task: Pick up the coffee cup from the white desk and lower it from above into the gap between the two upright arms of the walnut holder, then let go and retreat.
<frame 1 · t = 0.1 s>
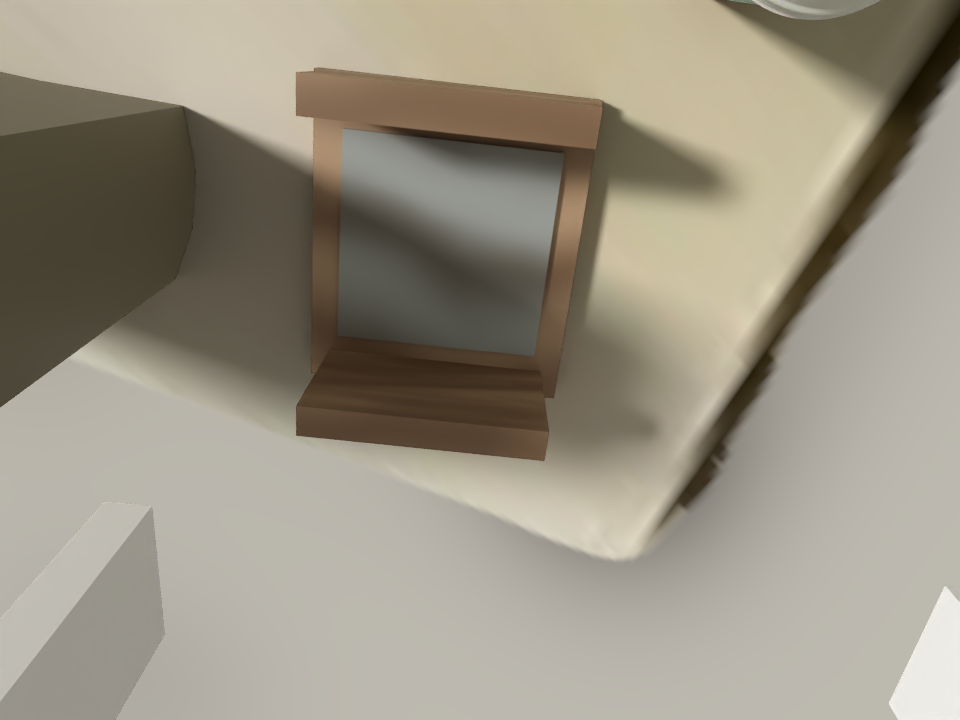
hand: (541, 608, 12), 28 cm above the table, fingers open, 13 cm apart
holder: (446, 242, 38), on the table
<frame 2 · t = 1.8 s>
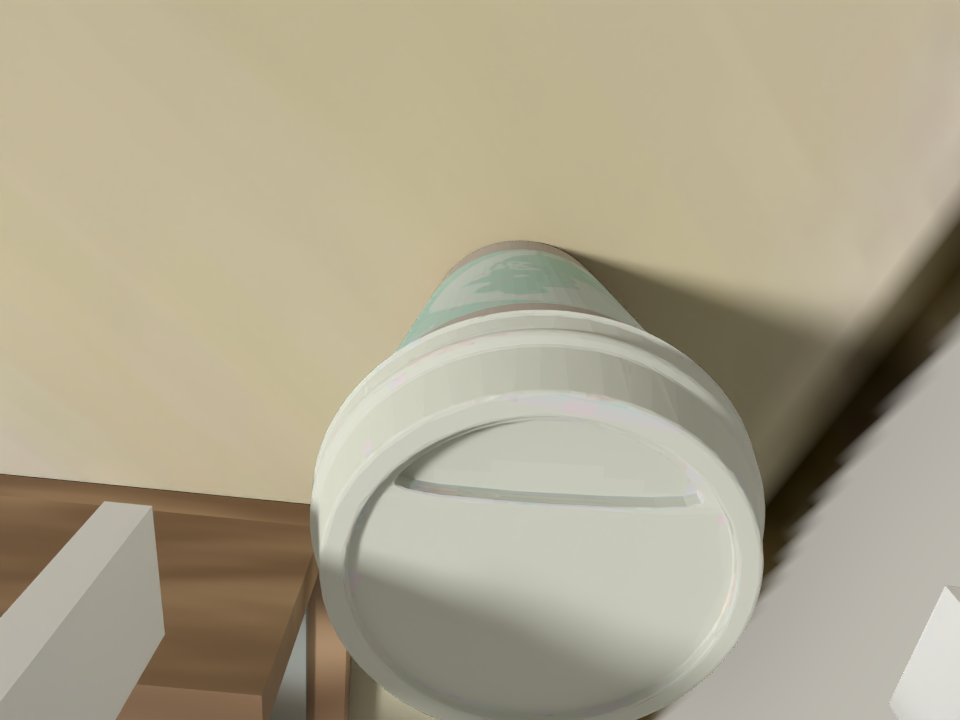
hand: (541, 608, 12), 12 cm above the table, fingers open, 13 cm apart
holder: (182, 651, 29), on the table
coffee cup: (517, 324, 23), on the table
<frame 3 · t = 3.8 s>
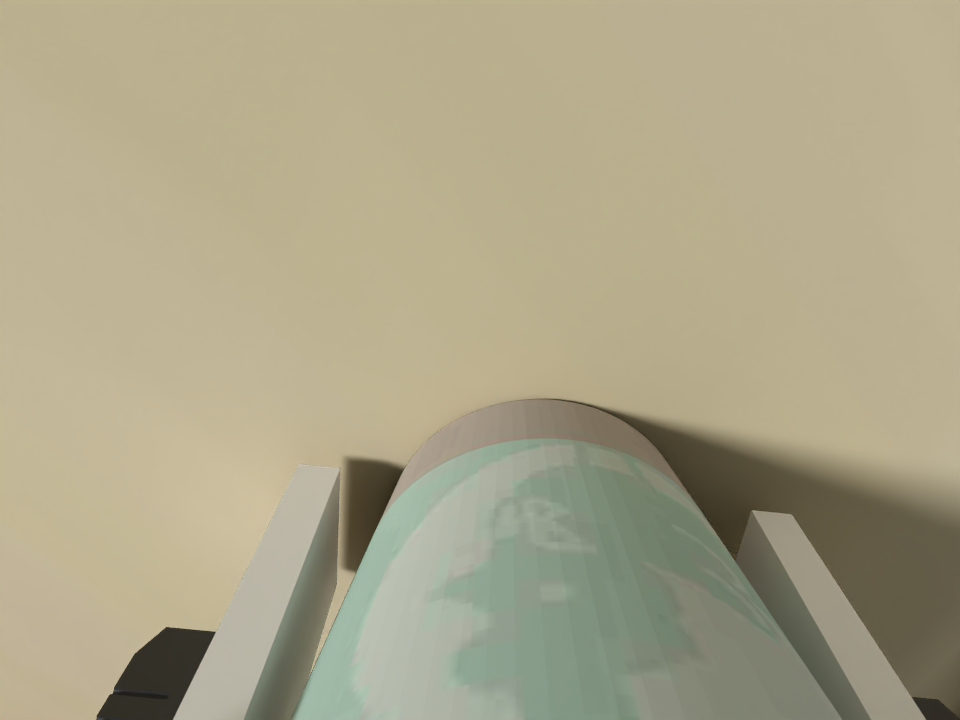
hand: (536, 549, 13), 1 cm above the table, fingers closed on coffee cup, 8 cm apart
coffee cup: (534, 520, 14), on the table, touching gripper
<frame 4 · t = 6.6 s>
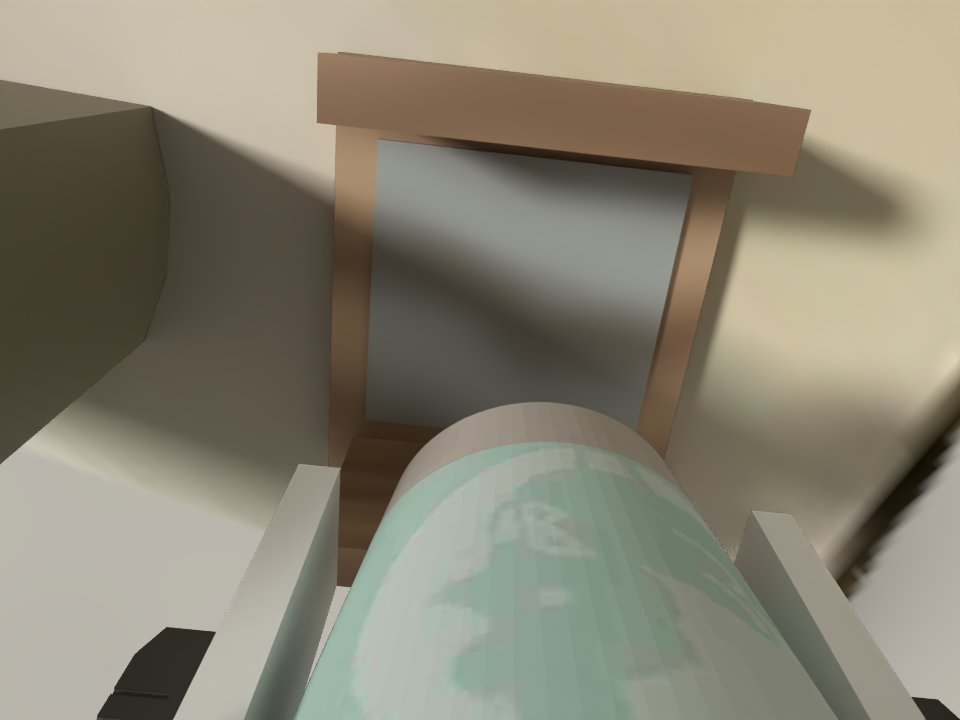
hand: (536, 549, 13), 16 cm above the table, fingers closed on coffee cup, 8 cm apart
holder: (515, 295, 27), on the table
coffee cup: (534, 523, 14), point 15 cm above the table, touching gripper
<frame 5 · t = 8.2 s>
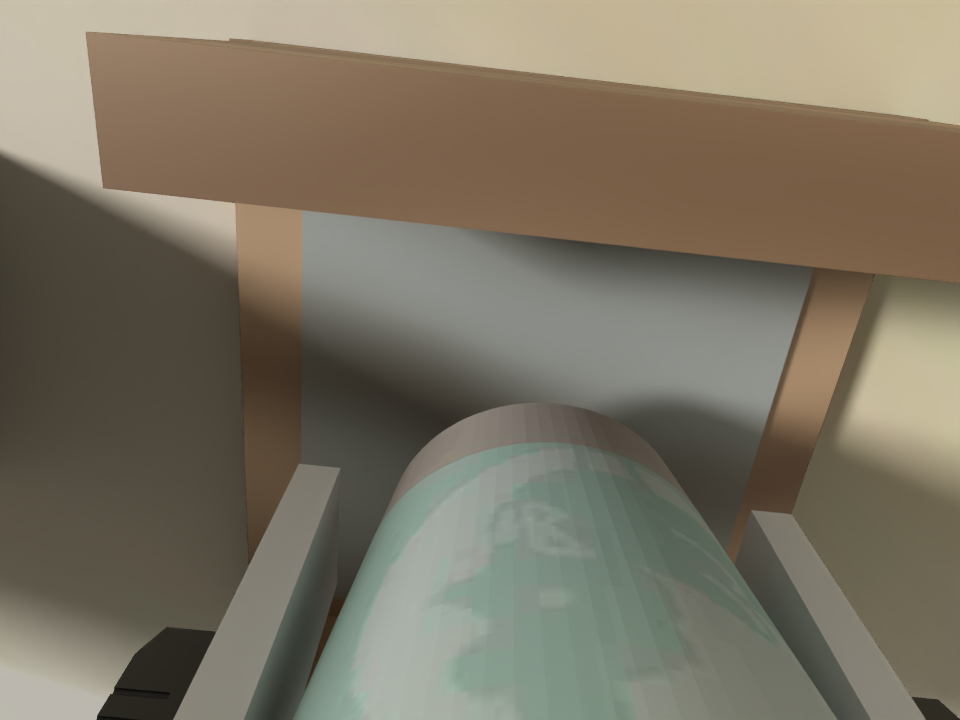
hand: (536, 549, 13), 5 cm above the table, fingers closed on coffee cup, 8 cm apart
holder: (526, 410, 18), on the table
coffee cup: (534, 523, 14), point 5 cm above the table, touching gripper
when the fingers open (3 cm above the table, at t = 9.6 s): coffee cup stays where it is, resting on holder.
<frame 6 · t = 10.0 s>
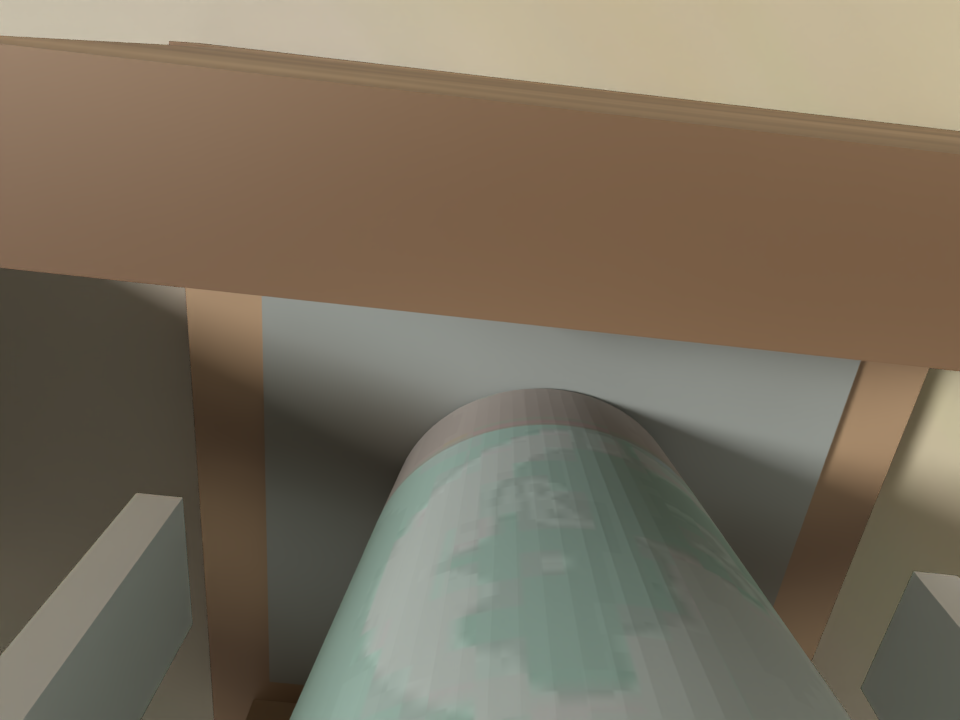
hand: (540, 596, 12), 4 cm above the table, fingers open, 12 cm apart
holder: (530, 472, 16), on the table
coffee cup: (533, 507, 14), point 1 cm above the table, touching holder
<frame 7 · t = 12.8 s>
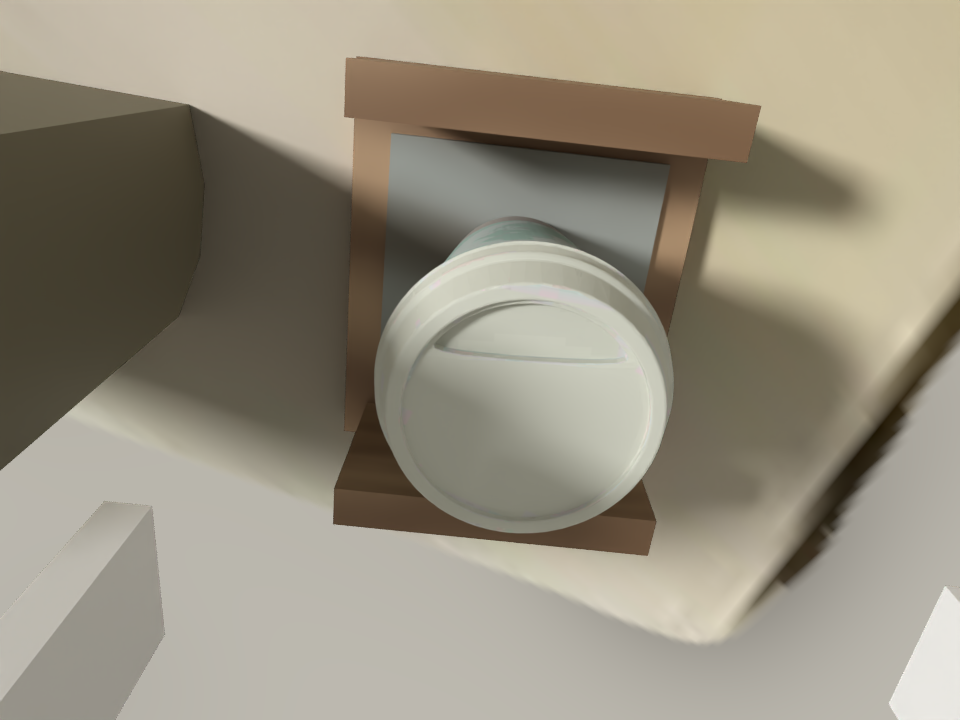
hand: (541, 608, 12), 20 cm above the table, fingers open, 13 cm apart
holder: (512, 274, 30), on the table
coffee cup: (513, 282, 29), point 1 cm above the table, touching holder
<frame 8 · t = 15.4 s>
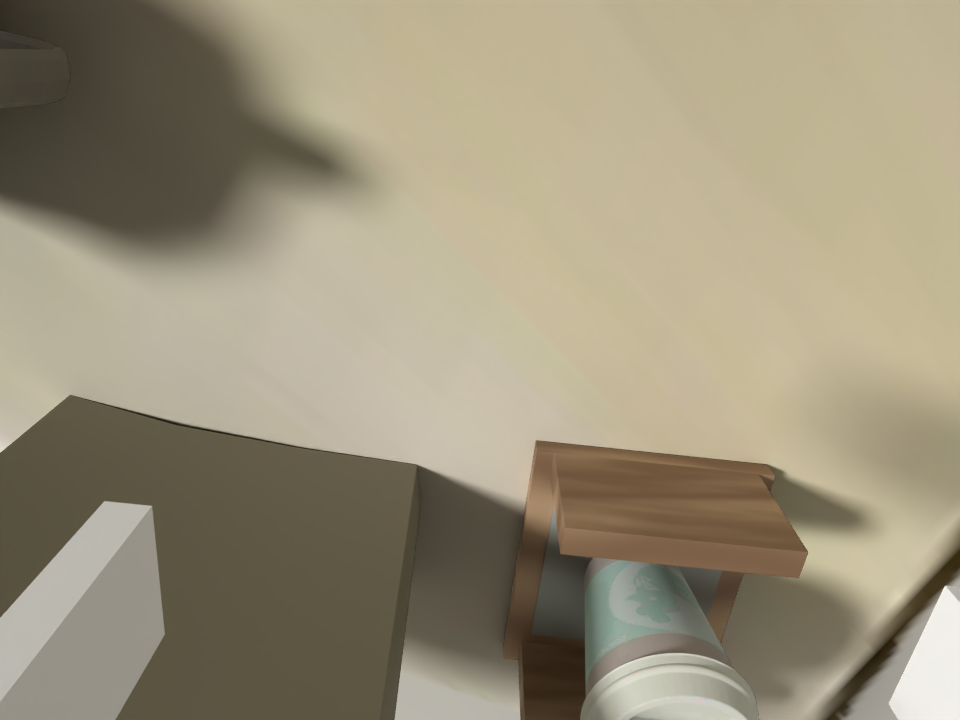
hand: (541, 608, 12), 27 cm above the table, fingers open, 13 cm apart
holder: (626, 560, 44), on the table
book: (253, 494, 43), on the table
coffee cup: (630, 574, 43), point 1 cm above the table, touching holder
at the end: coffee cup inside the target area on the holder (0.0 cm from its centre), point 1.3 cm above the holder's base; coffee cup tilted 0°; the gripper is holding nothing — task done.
